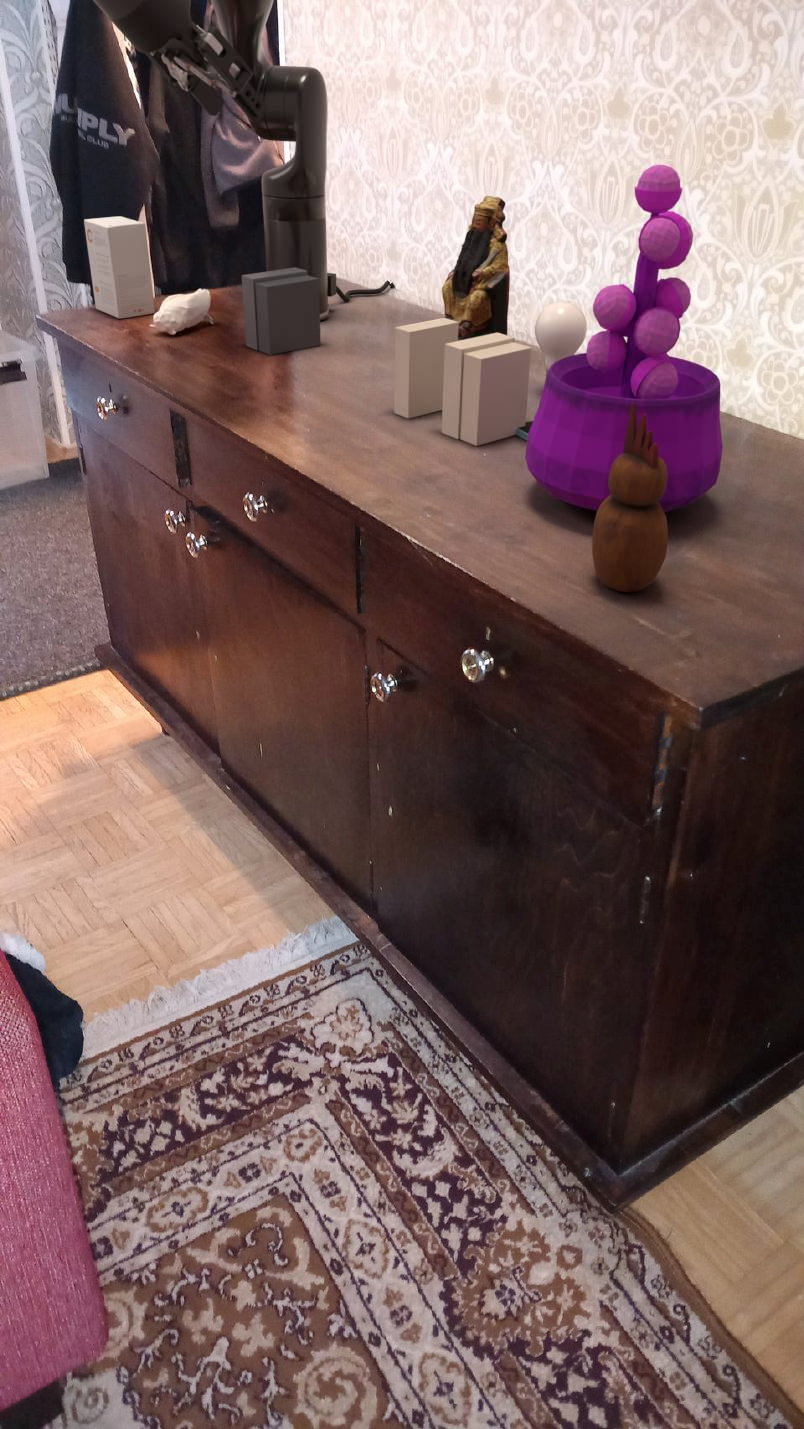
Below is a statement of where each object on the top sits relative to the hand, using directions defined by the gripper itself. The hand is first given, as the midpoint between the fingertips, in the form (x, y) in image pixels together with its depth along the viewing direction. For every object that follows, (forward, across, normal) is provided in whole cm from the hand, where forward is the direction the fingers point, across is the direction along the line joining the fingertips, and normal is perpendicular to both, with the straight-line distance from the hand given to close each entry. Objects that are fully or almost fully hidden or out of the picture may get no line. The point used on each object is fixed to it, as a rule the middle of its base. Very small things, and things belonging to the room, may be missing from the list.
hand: (239, 112), depth 117 cm
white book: (+30, -19, +13) cm, 38 cm away
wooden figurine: (+18, -64, +25) cm, 71 cm away
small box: (+26, +46, +18) cm, 56 cm away
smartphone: (+37, -35, +7) cm, 51 cm away
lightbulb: (+43, -24, +1) cm, 49 cm away
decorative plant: (+28, -52, +16) cm, 61 cm away
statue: (+45, -6, -1) cm, 45 cm away
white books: (+30, -29, +13) cm, 44 cm away
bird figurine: (+27, +31, +16) cm, 44 cm away
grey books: (+32, +15, +11) cm, 37 cm away
